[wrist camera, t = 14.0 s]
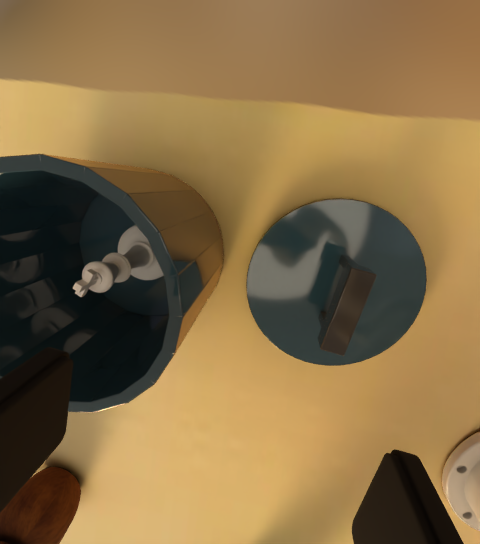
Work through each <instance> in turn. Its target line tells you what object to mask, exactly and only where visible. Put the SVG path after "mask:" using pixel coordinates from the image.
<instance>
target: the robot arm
mask: <svg viewBox="0 0 480 544" xmlns="http://www.w3.org/2000/svg"><path fill="white" fill-rule="evenodd" d="M72 370H73V360H72V359H70V358H69V353H68V352H65V351H62V350H58V349H55V348H52V347H47V348H45V349H43V350H42V351H40V352H39V353H37V354H36V355H34V356H33V357H31V358H30V359H28V360H27V361H25V362H24V363H22V364H21V365H20V366H18V367H17V368H15V369H14V370H12V371H11V372H9V373H8V374H6V375H5V376H3V377H2V378H0V512H1V511H2V510H3V509H4V508H5V507H6V505H7V504H8V503H9V502H10V501H11V500H12V499H13V497H14V496H15V495H16V494H17V493H18V492H19V490H20V489H21V488H22V487H23V486H24V485H25V483H26V482H27V481H28V480H29V479H30V478H31V476H32V475H33V474H34V473H35V472H36V471H37V470H38V468H39V467H40V466H41V465H42V464H43V463H44V461H45V460H46V459H47V458H48V457H49V456H50V454H51V453H52V452H53V451H54V450H55V449H56V447H57V446H58V445H59V444H60V443H61V441H62V439H63V437H64V435H65V432H66V425H67V416H68V407H69V398H70V389H71V379H72ZM442 486H443V492H444V494H445V496H446V499H447V501H448V502H449V504H450V506H451V508H452V509H453V511H454V513H455V514H456V515H457V516H458V517H459V518H460V519H461V520H462V521H463V522H465V523H466V524H467V525H469V526H470V527H472V528H474V529H476V530H478V531H480V431H479V432H477V433H475V434H473V435H472V436H470V437H469V438H467V439H466V440H464V441H463V442H462V443H461V444H460V445H459V446H458V447H457V448H456V449H455V450H454V451H453V452H452V453H451V455H450V456H449V458H448V460H447V461H446V464H445V466H444V469H443V474H442ZM352 535H353V541H354V544H464V543H463V542H462V540H461V538H460V536H459V534H458V532H457V530H456V528H455V526H454V524H453V522H452V520H451V518H450V516H449V515H448V513H447V511H446V509H445V507H444V505H443V503H442V501H441V499H440V497H439V495H438V493H437V491H436V489H435V487H434V486H433V484H432V482H431V480H430V478H429V476H428V474H427V472H426V470H425V468H424V466H423V464H422V462H421V460H420V459H419V458H418V457H417V456H416V455H413V454H410V453H406V452H403V451H399V450H393V451H392V452H391V453H386V454H385V455H384V457H383V459H382V461H381V463H380V465H379V467H378V470H377V472H376V474H375V476H374V478H373V480H372V482H371V484H370V486H369V488H368V490H367V493H366V495H365V497H364V499H363V501H362V503H361V505H360V507H359V509H358V511H357V513H356V516H355V518H354V520H353V524H352Z"/></svg>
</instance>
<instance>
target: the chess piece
mask: <svg viewBox="0 0 480 544" xmlns="http://www.w3.org/2000/svg"><path fill="white" fill-rule="evenodd" d="M130 274H131V275H132V276H134V277H136V278H138V279H142V280H154V279H157V278H160V277H162V276H164V274H163V272H162V270H161V268H160V266H159V263H158V261H157V259H156V257H155V255H154V252H153V250H152V248H151V246H150V243H149V241H148V239H147V238H146V237H145V235H144V234H143V233H142V232H141V231H140V230H139V228H138V227H137V226H136V225H134V226H132V227H130V228H129V229H128V230H126V231H125V232H124V233H123V235H122V236H121V238H120V240H119V243H118V253H110V254H108V255H106V256H105V257H104V259H103V260H102V262H100V261H94V262H90V263H88V264H87V265H86V266H85V267H84V269H83V271H82V280H79V281H77V282H76V283H75V284H74V286H73V289H74V290H76V292H75V294H77V295H78V296H80V297H83V296H84V295H86V293H87V291H88V289H90V290H92V291H94V292H97V293H102V292H106V291H108V290H109V289H110V288H111V287H112V285H113V284H114V282H116V283H119V282H124V281H126V280H127V279H128V278H129V276H130Z"/></svg>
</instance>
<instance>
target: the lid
mask: <svg viewBox="0 0 480 544" xmlns="http://www.w3.org/2000/svg"><path fill="white" fill-rule="evenodd" d="M426 280H427V279H426V267H425V262H424V257H423V255H422V252H421V249H420V247H419V245H418V243H417V241H416V239H415V238H414V236H413V235H412V233H411V232H410V231H409V230H408V228H407V227H406V226H405V225H404V224H403V223H402V222H401V221H400V220H399V219H398V218H396V217H395V216H393V215H392V214H391V213H389V212H388V211H386V210H384V209H382V208H380V207H378V206H375V205H372V204H370V203H367V202H363V201H358V200H353V199H340V198H339V199H326V200H321V201H315V202H312V203H309V204H306V205H303V206H301V207H299V208H297V209H295V210H293V211H291V212H289V213H288V214H286V215H285V216H283V217H282V218H281V219H279V220H278V221H277V222H276V223H275V224H274V225H272V227H271V228H270V229H269V230H268V231H267V232H266V233H265V234H264V236H263V237H262V239H261V240H260V242H259V243H258V245H257V247H256V249H255V251H254V253H253V256H252V258H251V261H250V264H249V269H248V274H247V285H246V286H247V298H248V302H249V307H250V310H251V312H252V315H253V317H254V319H255V321H256V323H257V325H258V327H259V328H260V329H261V331H262V332H263V334H264V335H265V336H266V337H267V338H268V339H269V340H270V341H271V342H272V343H273V344H274V345H275V346H277V347H278V348H279V349H281V350H282V351H284V352H285V353H287V354H289V355H291V356H293V357H295V358H297V359H300V360H303V361H305V362H309V363H313V364H319V365H347V364H352V363H357V362H361V361H364V360H366V359H369V358H372V357H374V356H376V355H378V354H380V353H382V352H383V351H385V350H386V349H388V348H389V347H391V346H392V345H393V344H394V343H396V342H397V341H398V340H399V339H400V338H401V337H402V336H403V335H404V334H405V333H406V332H407V331H408V329H409V328H410V327H411V325H412V324H413V322H414V321H415V319H416V317H417V315H418V313H419V311H420V308H421V306H422V303H423V300H424V296H425V291H426Z"/></svg>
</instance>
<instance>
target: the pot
mask: <svg viewBox="0 0 480 544" xmlns="http://www.w3.org/2000/svg"><path fill="white" fill-rule="evenodd" d="M134 225H136V226H137V227H138V228H139V230H140V231H141V232H142V233H143V234H144V235H145V237H146V238H147V239H148V241H149V243H150V246H151V248H152V250H153V252H154V255H155V257H156V259H157V261H158V263H159V266H160V268H161V270H162V272H163V274H164V276H162V277H160V278H157V279H154V280H142V279H138V278H136V277H134V276H132V275H131V274H130V276H129V278H128V279H127V280H126V281H124V282H119V283H116V282H114V284H113V285H112V287H111V288H110V289H109V290H108V291H106V292H102V293H97V292H94V291H92V290H90V289H88V291H87V293H86V295H84V296H83V297H80V296H78V295H77V294H75V292H76V290H74V289H73V286H74V284H75V283H76V282H77V281H79V280H82V271H83V269H84V267H85V266H86V265H87V264H88V263H90V262H94V261H100V262H102V260H103V259H104V257H105V256H106V255H108V254H110V253H118V243H119V240H120V238H121V236H122V235H123V233H124V232H125V231H126V230H128V229H129V228H130V227H132V226H134ZM223 257H224V248H223V239H222V234H221V230H220V227H219V224H218V222H217V219H216V217H215V215H214V213H213V211H212V210H211V208H210V207H209V205H208V204H207V202H206V201H205V200H204V199H203V198H202V197H201V195H200V194H199V193H198V192H196V191H195V190H194V189H193V188H192V187H191V186H189V185H188V184H186V183H185V182H183V181H182V180H180V179H178V178H176V177H175V176H172V175H170V174H166V173H163V172H159V171H155V170H152V169H148V168H141V167H133V166H126V165H118V164H111V163H104V162H96V161H89V160H82V159H74V158H67V157H60V156H52V155H45V154H32V155H19V156H6V157H0V378H2V377H3V376H5V375H6V374H8V373H9V372H11V371H12V370H14V369H15V368H17V367H18V366H20V365H21V364H22V363H24V362H25V361H27V360H28V359H30V358H31V357H33V356H34V355H36V354H37V353H39V352H40V351H42V350H43V349H45V348H47V347H52V348H55V349H58V350H62V351H65V352H68V353H69V358H70V359H72V360H73V370H72V379H71V389H70V398H69V407H68V412H90V413H93V412H98V411H102V410H105V409H109V408H112V407H116V406H119V405H123V404H126V403H129V402H130V401H131V400H133V399H134V398H136V397H137V396H139V395H140V394H141V393H143V392H144V391H146V390H147V389H148V388H150V387H151V386H153V385H154V384H155V383H156V382H157V380H158V379H159V377H160V376H161V374H162V373H163V371H164V370H165V368H166V367H167V365H168V364H169V362H170V361H171V359H172V358H173V356H174V355H175V353H176V351H177V350H178V348H179V346H180V345H181V343H182V341H183V340H184V338H185V336H186V335H187V333H188V332H189V330H190V328H191V327H192V325H193V323H194V322H195V320H196V318H197V317H198V315H199V313H200V312H201V310H202V308H203V307H204V305H205V303H206V302H207V300H208V299H209V297H210V295H211V294H212V292H213V290H214V289H215V287H216V285H217V283H218V280H219V277H220V274H221V271H222V265H223Z"/></svg>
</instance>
